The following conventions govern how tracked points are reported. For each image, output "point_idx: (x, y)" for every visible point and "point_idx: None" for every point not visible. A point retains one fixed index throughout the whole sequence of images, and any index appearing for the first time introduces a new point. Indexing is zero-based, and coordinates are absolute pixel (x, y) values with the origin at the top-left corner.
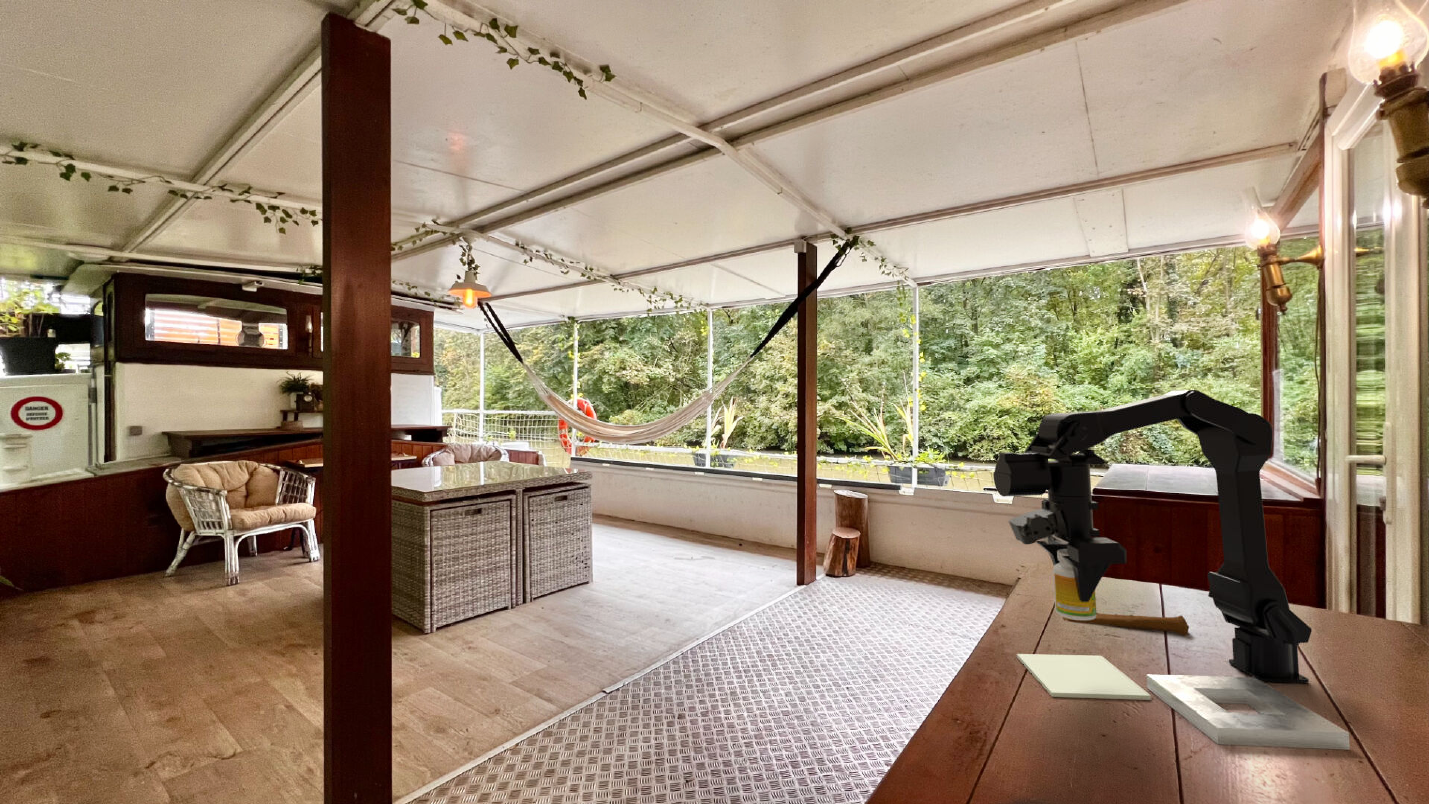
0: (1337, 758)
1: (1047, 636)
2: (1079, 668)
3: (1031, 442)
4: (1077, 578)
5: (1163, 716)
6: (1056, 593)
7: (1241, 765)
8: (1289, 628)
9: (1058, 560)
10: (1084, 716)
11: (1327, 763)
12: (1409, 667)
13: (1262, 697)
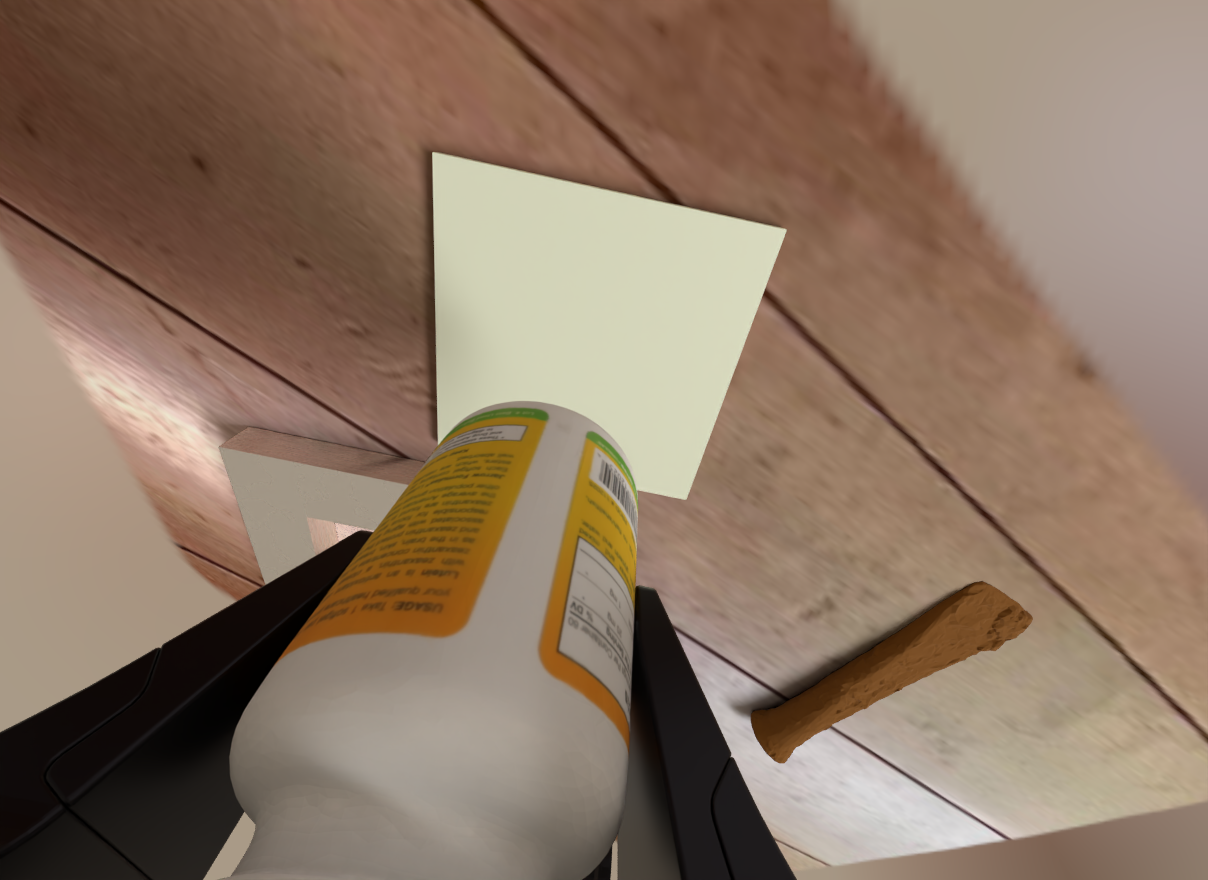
0: None
1: (900, 461)
2: (613, 384)
3: None
4: (131, 676)
5: (359, 410)
6: (503, 479)
7: (171, 405)
8: None
9: (669, 873)
10: (311, 183)
11: (239, 538)
12: None
13: None
